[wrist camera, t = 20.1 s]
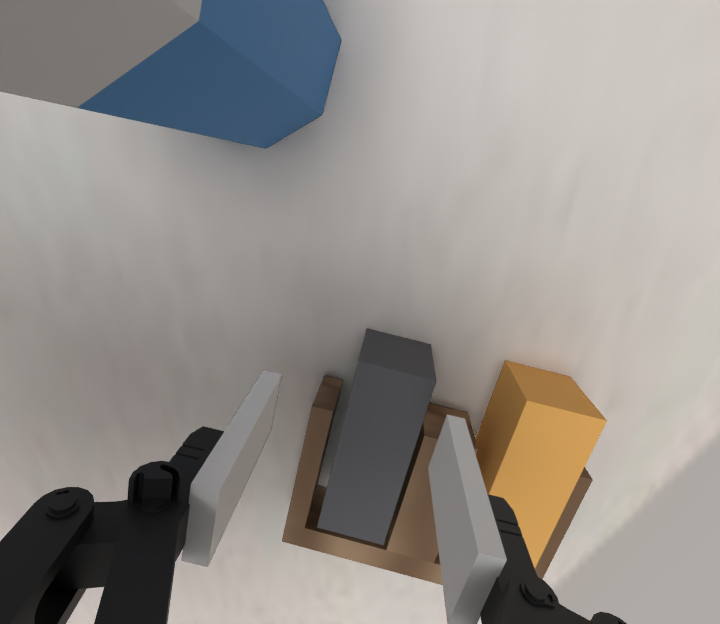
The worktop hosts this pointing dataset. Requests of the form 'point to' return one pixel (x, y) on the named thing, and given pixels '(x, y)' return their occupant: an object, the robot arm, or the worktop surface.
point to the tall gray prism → (378, 435)
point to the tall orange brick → (536, 446)
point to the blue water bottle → (175, 61)
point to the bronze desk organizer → (414, 506)
